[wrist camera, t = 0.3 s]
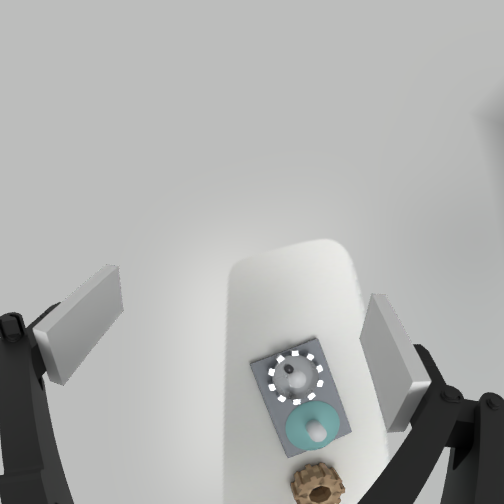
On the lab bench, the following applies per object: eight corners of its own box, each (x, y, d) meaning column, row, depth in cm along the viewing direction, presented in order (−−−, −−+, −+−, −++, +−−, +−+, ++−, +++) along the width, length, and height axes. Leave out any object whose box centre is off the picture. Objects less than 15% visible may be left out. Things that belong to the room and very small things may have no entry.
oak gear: (342, 489, 43) (349, 501, 38) (299, 505, 42) (303, 519, 37) (329, 455, 45) (337, 466, 40) (284, 472, 44) (288, 485, 39)
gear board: (349, 431, 46) (361, 442, 40) (287, 456, 45) (292, 471, 39) (316, 338, 49) (324, 339, 43) (250, 363, 48) (250, 368, 42)
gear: (328, 377, 46) (337, 382, 41) (288, 409, 45) (293, 418, 40) (297, 339, 48) (302, 340, 43) (256, 371, 47) (257, 376, 42)
